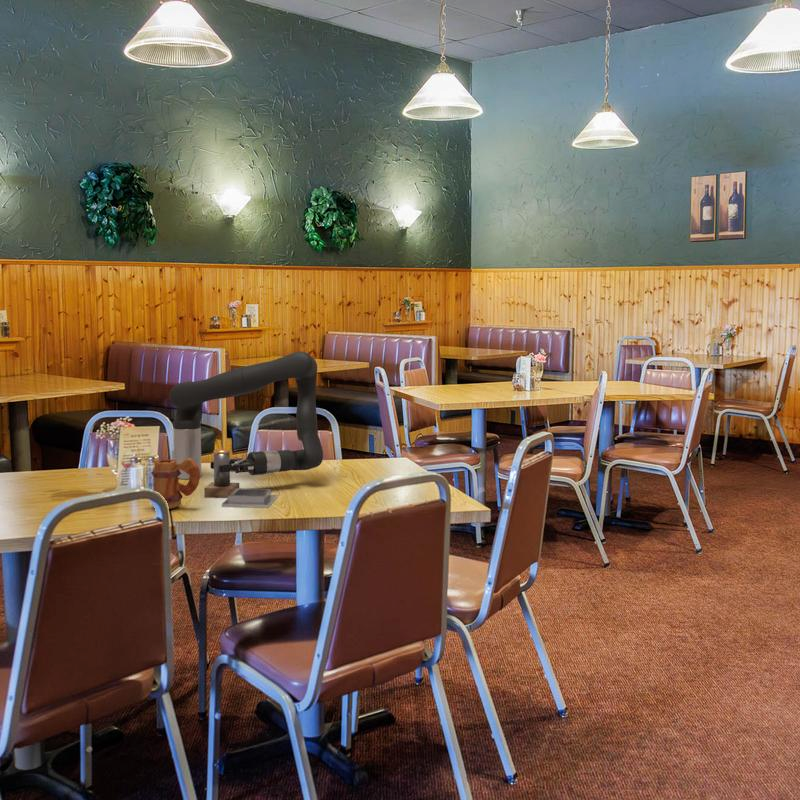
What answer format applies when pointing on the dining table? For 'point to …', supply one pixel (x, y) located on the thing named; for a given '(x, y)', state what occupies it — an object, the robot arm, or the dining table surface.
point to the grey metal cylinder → (219, 459)
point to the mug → (175, 479)
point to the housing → (250, 498)
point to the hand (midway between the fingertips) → (215, 467)
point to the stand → (219, 490)
